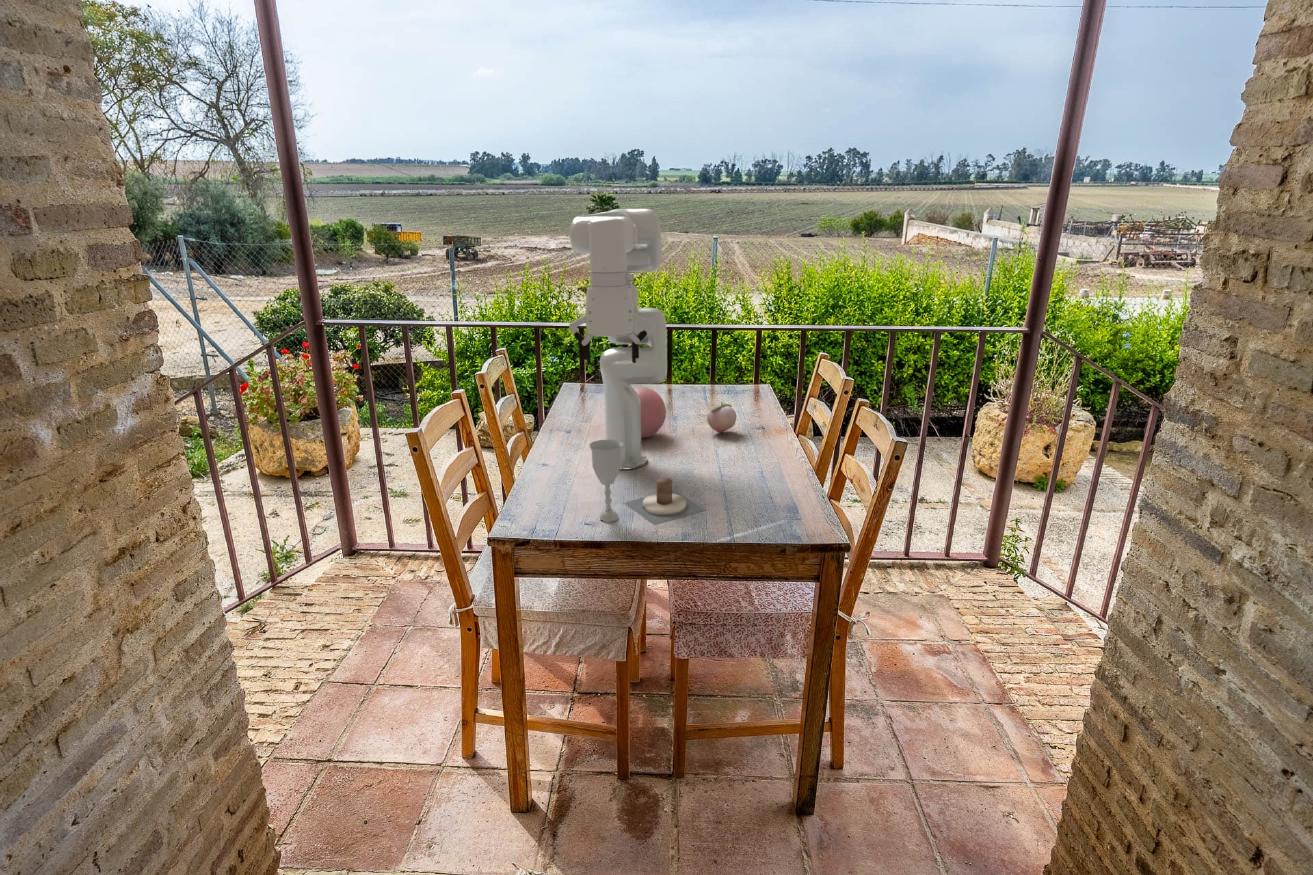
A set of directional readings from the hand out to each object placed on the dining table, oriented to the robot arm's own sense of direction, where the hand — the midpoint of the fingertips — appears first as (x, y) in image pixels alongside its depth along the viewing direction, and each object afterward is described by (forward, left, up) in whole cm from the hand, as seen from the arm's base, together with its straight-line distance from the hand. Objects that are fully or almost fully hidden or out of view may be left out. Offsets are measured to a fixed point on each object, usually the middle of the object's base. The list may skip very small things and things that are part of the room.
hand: (611, 362), depth 149 cm
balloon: (-46, +33, -36) cm, 67 cm away
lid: (+4, +10, -35) cm, 36 cm away
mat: (+4, +10, -35) cm, 37 cm away
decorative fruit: (-33, +54, -36) cm, 73 cm away
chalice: (+3, -3, -36) cm, 36 cm away
